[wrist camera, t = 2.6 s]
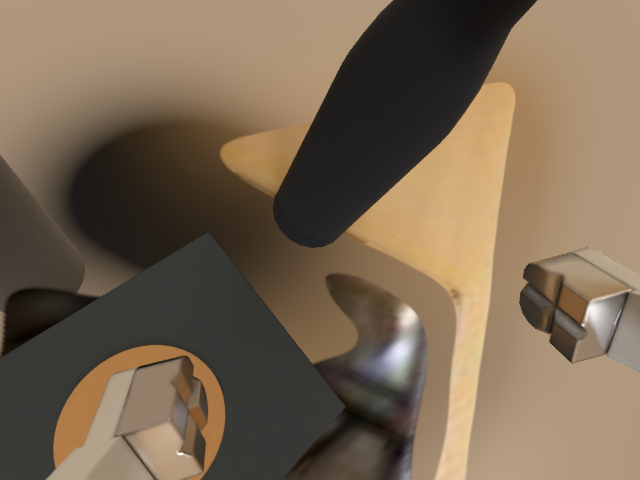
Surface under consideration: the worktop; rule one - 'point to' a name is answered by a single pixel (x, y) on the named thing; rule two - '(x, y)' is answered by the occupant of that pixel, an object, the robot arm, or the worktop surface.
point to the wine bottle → (390, 109)
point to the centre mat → (161, 344)
